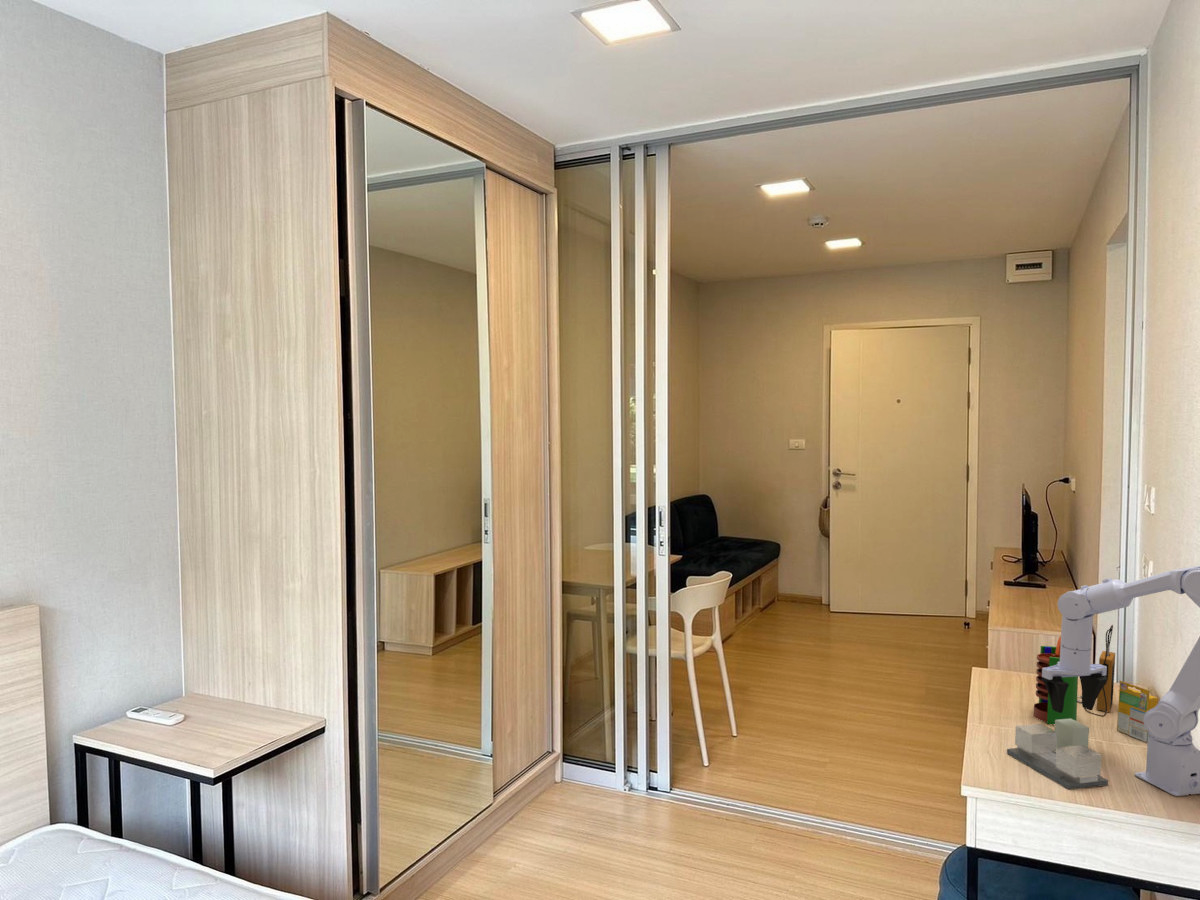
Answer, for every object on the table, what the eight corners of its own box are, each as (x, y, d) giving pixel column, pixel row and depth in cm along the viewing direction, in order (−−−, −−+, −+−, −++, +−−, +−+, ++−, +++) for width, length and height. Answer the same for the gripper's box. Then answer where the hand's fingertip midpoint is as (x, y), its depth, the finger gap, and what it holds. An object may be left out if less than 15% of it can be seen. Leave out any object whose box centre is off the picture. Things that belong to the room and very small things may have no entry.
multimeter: (1069, 692, 221) (1073, 615, 220) (1114, 700, 215) (1118, 621, 214) (1060, 708, 209) (1064, 627, 208) (1107, 718, 203) (1112, 634, 202)
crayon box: (1156, 741, 190) (1159, 689, 189) (1146, 743, 188) (1149, 690, 188) (1125, 729, 196) (1128, 679, 196) (1116, 730, 195) (1118, 680, 195)
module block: (1087, 755, 182) (1089, 727, 181) (1071, 756, 181) (1073, 728, 180) (1069, 745, 186) (1070, 718, 186) (1053, 747, 185) (1055, 719, 185)
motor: (1025, 709, 208) (1028, 627, 207) (1062, 710, 208) (1066, 628, 206) (1045, 725, 198) (1049, 639, 196) (1085, 726, 197) (1089, 640, 196)
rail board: (1107, 785, 167) (1109, 754, 167) (1068, 789, 165) (1070, 758, 165) (1043, 750, 184) (1044, 722, 183) (1007, 753, 182) (1008, 725, 181)
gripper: (1089, 639, 188) (1086, 700, 189) (1032, 643, 184) (1029, 705, 185) (1116, 649, 181) (1112, 712, 182) (1057, 652, 177) (1054, 717, 178)
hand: (1072, 709), depth 183 cm, fingers open, 7 cm apart
